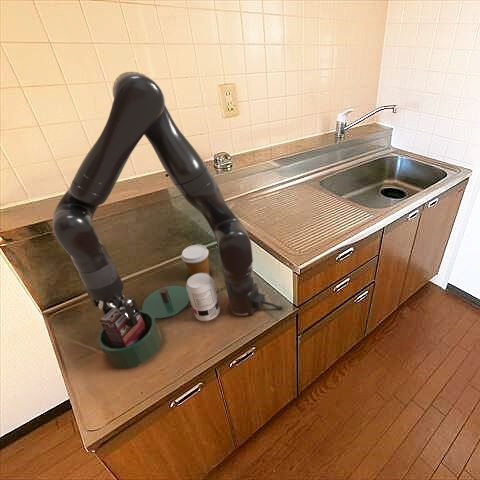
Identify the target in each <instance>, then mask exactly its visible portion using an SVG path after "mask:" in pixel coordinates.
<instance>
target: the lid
mask: <svg viewBox="0 0 480 480" xmlns="http://www.w3.org/2000/svg"><path fill="white" fill-rule="evenodd" d="M190 303H191V302H190V298H189V295H188V292H187V289H186V286H183V285H169V286H168V285H167V286H164V287H161V288H158V289H156V290H155V291H152V292H151V293H150V294H149V295H148V296H146V297H145V299H144V301H143V302H142V306H141V310H144V311H147V312H150V313H151V314H152V315H153V316H154V318H155V320H163V319H164V320H165V319H168V318H171V317H173V316H176V315H178V314H180V313H181V312H182V311H184V310H185V309H186V308H187V307H188V305H189V304H190Z"/></svg>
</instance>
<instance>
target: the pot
mask: <svg viewBox="0 0 480 480" xmlns="http://www.w3.org/2000/svg"><path fill="white" fill-rule="evenodd" d="M139 311H140V314H141V316H142V318H143V321H144V323H145V325H146V328H147V330H148V333H147V334H146V335H145V336H144V337H143V338H142V339H141V340H139V341H138V342H136V343H134V344H133V345H130V346H127V347H124V348H114V346H113V345H112V343H111V341H110V339H109V337H108V335H107V333H106V331H105V330H104V328H103V327H102V328H101V329H100V331H99V332H98V335H97V344H98V345H99V347H100V349H101V350H102V352H103V354H104V355H105V357H106V358H107V360H108V362H109V364H110V365H111V366H112V367H114V368H116V369H121V370H127V369H133V368H136V367H139V365H141V364H143V363H145V362H147V361H148V360H149V359H151V358H152V357H154V355H155V354H156V353H157V352H158V351H159V349H160V347H161V344H162V342H163V336H162V332H161V330H160V327H159V325H158V323H157V319H155V318H154V316H153V315H152V314H151V313H150V312H147V311H144V310H142V309H139Z"/></svg>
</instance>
